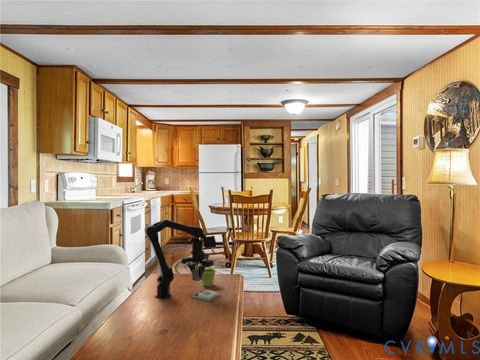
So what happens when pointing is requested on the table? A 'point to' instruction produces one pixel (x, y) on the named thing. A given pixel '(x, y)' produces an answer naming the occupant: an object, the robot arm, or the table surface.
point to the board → (206, 295)
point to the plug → (196, 274)
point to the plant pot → (208, 277)
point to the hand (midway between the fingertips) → (197, 277)
